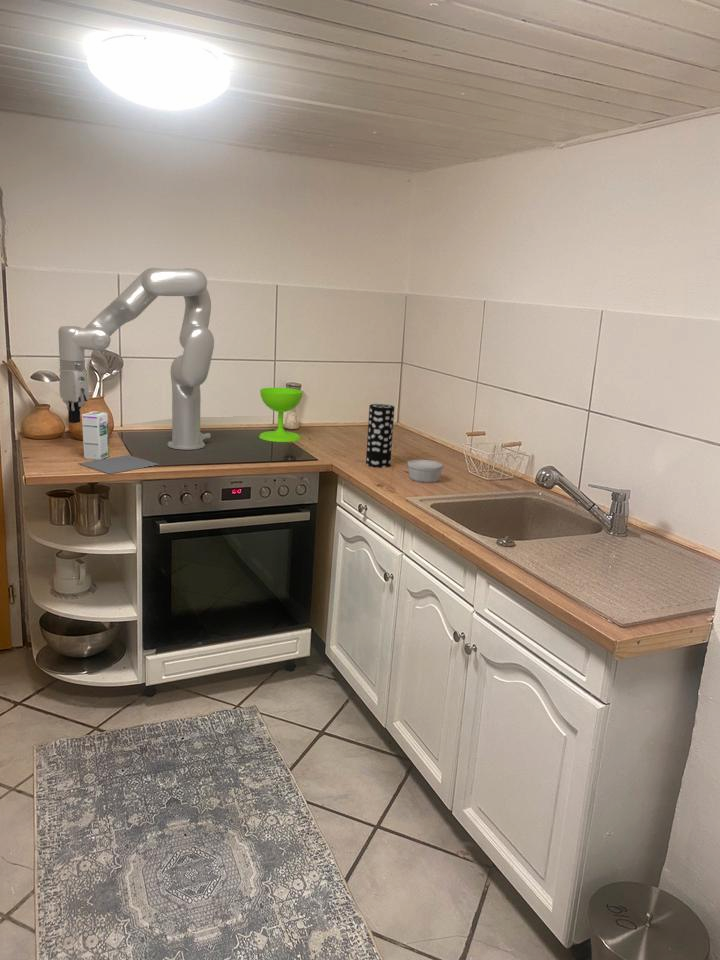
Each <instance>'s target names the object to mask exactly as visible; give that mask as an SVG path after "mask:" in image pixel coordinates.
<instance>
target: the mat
mask: <svg viewBox="0 0 720 960" xmlns="http://www.w3.org/2000/svg"><path fill="white" fill-rule="evenodd" d="M79 464H80V466H83V467H86V468H89V469H91V470H92V469H93V470H95V471H98V472H102V473H104V474H108V475H112V474H119V473H125V472H130V471H135V470H141V469H145V468H144V467H147V468H149V467H148V466H152V467H155V466H154V465H158V466H160V464H159V463H156V462H153V461H150V460H147V459H143V458H140V457H136V456H133V455H129V454H126V455H121V456H120V455H119V456H115V457H106V458H104V459H101V460H90V461H83V462H79V463H78V465H79ZM140 468H141V469H140Z"/></svg>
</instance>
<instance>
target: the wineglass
mask: <svg viewBox="0 0 720 960" xmlns="http://www.w3.org/2000/svg"><path fill="white" fill-rule="evenodd" d="M259 391H260V397H261V399H262V402H263V404H265V406H266V407H268V408H269V409H270V410H272V411H275V412H278V413H277V414H278V415H277V416H278V417H277V429H276V430H271V431H263V432H261V433H260V434H259V436H258V437H259V439H261V440H264V441H269V442H278V443H290V442H297V441H300V440H301V439H302V437H301V435H299V433H296V432H292V431H286V430H285V429H284V413H285V412H290V411H291V410H293V409H295V408H296V407H297V406H298V405H299V403H300V402H301V400H302V398H303V391H302V390H301V389H298V388H297V389H296V388H292V387H291V388H290V387H289V388H288V387H265V388H260V390H259Z"/></svg>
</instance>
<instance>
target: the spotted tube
mask: <svg viewBox="0 0 720 960" xmlns="http://www.w3.org/2000/svg"><path fill="white" fill-rule="evenodd" d="M368 410H369V411H368V424H367V440H366V442H367V443H366V453H365V455H366V457H365V465H366V466H367V467H371V468H378V469H380V468H381V469H383V468H384V469H385V468H390V467H391V459H392V447H393V436H394V435H393V434H394V419H395V406H394V405H392V404H391V405H390V404H382V403H373V404H369V409H368Z"/></svg>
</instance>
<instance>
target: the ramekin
mask: <svg viewBox="0 0 720 960" xmlns="http://www.w3.org/2000/svg"><path fill="white" fill-rule="evenodd" d="M407 468H408V469H407V470H408V477H409V479H410V480H411V481H413V482H417V483H422V484H423V483H424V484H425V483H427V484H433V483H437V482H438V481H439V480H440V478H441V474H442V473H441V472H442V470H443V464H442V463H441V462H439V461H436V460H430V459H429V460H427V459H413V460H408V461H407Z"/></svg>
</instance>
